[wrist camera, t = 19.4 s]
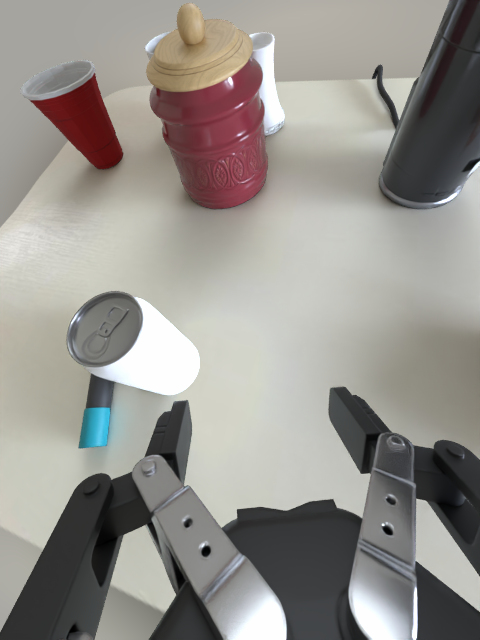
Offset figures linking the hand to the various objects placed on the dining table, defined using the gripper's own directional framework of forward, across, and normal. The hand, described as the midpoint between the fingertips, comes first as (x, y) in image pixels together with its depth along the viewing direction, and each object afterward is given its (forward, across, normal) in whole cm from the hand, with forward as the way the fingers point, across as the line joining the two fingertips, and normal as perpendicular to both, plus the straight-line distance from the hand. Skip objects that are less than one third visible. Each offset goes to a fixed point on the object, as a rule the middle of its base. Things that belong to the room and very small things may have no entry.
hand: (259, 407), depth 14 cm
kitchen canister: (+32, 0, -17) cm, 36 cm away
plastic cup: (+43, +21, -24) cm, 53 cm away
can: (+14, +8, +4) cm, 17 cm away
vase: (+39, -7, -27) cm, 48 cm away
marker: (+15, +15, +5) cm, 21 cm away
